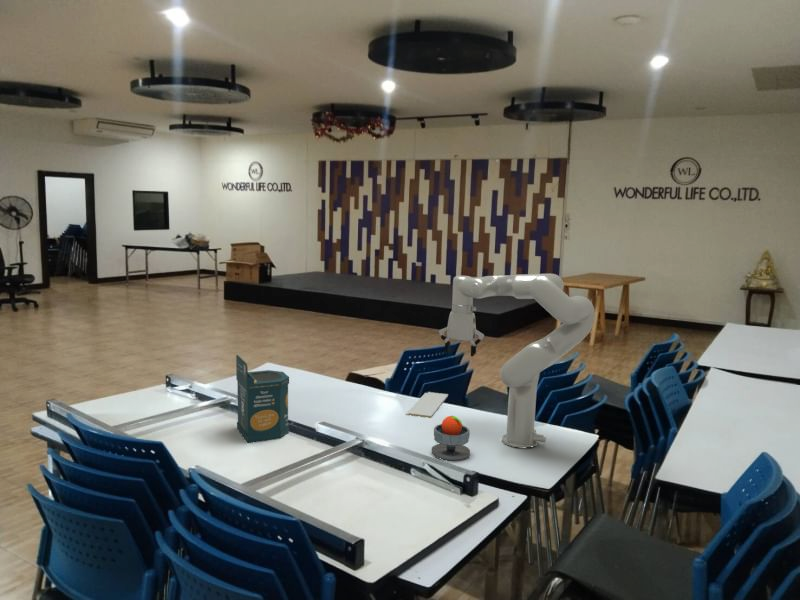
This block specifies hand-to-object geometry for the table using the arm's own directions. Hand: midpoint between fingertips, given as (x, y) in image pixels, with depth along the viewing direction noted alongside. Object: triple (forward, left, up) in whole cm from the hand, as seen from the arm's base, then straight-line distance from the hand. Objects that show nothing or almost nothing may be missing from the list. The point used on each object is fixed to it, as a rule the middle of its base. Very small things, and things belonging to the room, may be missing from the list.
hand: (460, 354), depth 229 cm
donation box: (+61, +38, -29) cm, 77 cm away
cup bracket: (-6, +26, -28) cm, 39 cm away
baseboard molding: (+20, -20, -29) cm, 40 cm away
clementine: (-6, +26, -22) cm, 35 cm away
